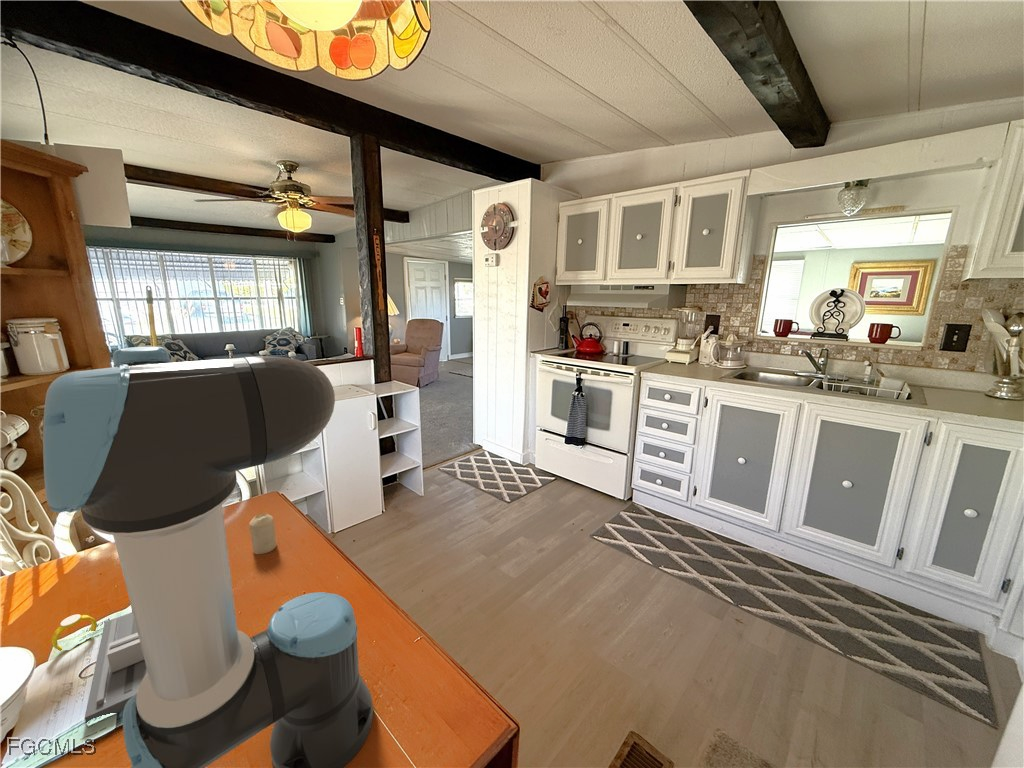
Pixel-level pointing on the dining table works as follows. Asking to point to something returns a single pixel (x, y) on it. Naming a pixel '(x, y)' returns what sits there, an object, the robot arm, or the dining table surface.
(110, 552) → the dining table surface
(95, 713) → the console board
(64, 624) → the watch
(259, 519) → the candle
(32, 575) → the dining table surface
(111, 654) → the grey cap
